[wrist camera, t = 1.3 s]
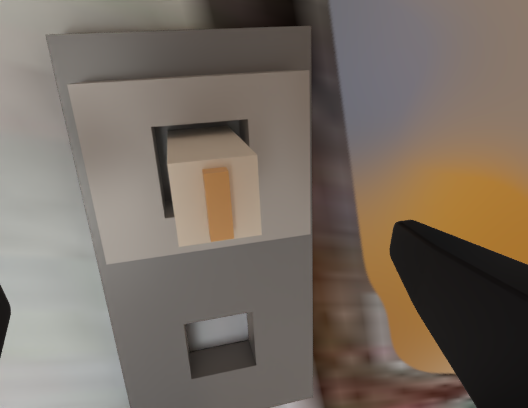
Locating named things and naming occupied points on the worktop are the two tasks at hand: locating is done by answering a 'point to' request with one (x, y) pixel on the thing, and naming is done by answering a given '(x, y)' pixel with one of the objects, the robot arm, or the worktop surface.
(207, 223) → the plug
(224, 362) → the jack panel
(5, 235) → the worktop surface
